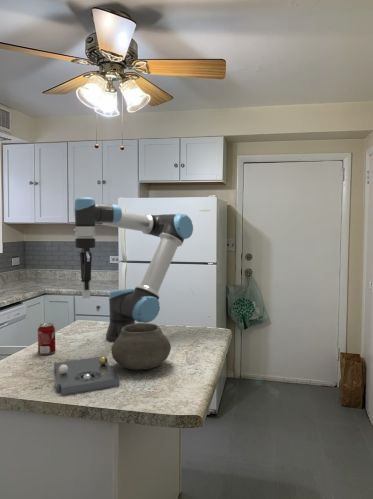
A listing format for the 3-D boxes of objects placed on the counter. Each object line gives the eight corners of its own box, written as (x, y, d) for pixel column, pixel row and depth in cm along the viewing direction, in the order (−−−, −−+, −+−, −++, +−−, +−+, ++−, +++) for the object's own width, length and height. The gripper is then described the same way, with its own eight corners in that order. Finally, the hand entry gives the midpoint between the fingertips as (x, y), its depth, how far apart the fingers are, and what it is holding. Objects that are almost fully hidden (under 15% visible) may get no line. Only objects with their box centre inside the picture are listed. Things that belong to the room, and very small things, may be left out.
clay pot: (122, 382, 129) (121, 338, 128) (104, 362, 148) (104, 324, 147) (180, 371, 139) (180, 330, 138) (156, 354, 158) (156, 318, 157)
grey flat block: (51, 370, 140) (51, 363, 140) (106, 362, 148) (106, 355, 148) (58, 396, 118) (58, 388, 118) (122, 385, 126) (121, 377, 126)
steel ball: (91, 372, 130) (92, 373, 128) (91, 382, 130) (93, 383, 127) (81, 373, 129) (82, 375, 126) (81, 383, 129) (83, 385, 126)
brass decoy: (106, 362, 141) (106, 354, 141) (108, 365, 138) (108, 357, 138) (98, 363, 140) (98, 355, 139) (99, 366, 137) (99, 358, 137)
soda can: (49, 356, 155) (49, 327, 155) (34, 355, 157) (34, 326, 156) (58, 351, 162) (58, 323, 161) (44, 350, 163) (43, 322, 163)
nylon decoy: (67, 371, 132) (67, 362, 132) (68, 374, 130) (68, 365, 129) (58, 372, 131) (58, 363, 131) (59, 375, 128) (59, 366, 128)
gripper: (73, 237, 154) (74, 295, 155) (77, 238, 142) (79, 301, 144) (92, 237, 157) (92, 294, 158) (98, 237, 145) (99, 299, 147)
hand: (86, 297), depth 151 cm, fingers closed
